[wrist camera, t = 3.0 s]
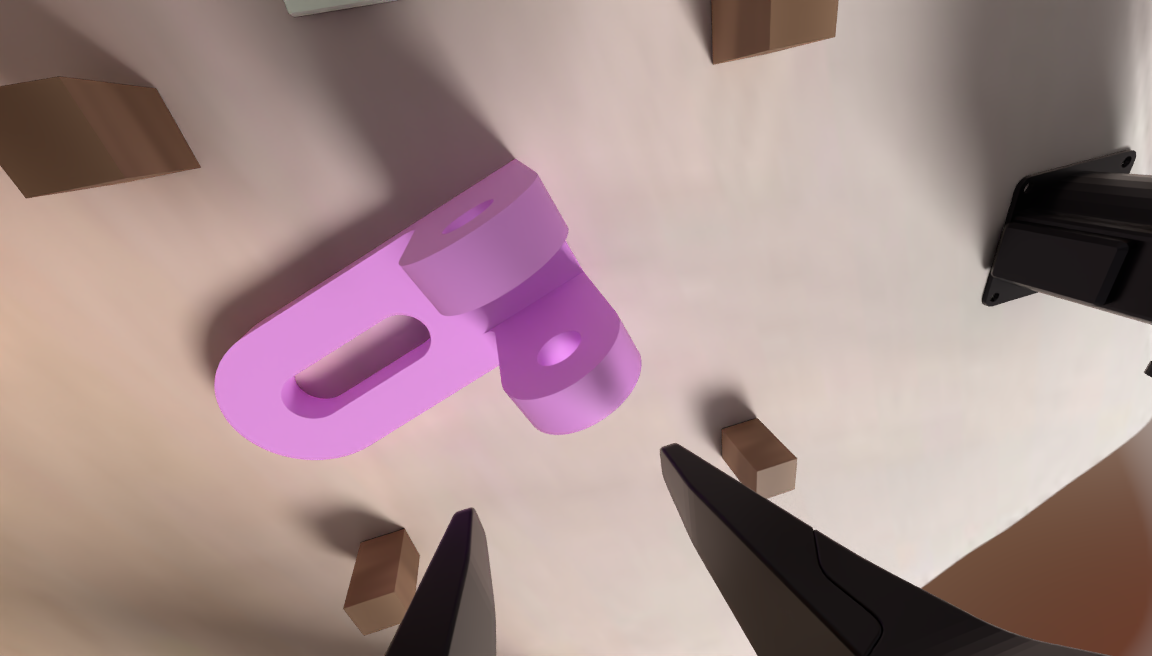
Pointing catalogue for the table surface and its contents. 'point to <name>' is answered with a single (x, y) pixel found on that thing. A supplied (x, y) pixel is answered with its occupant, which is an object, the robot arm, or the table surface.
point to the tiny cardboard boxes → (157, 147)
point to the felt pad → (324, 5)
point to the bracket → (441, 329)
